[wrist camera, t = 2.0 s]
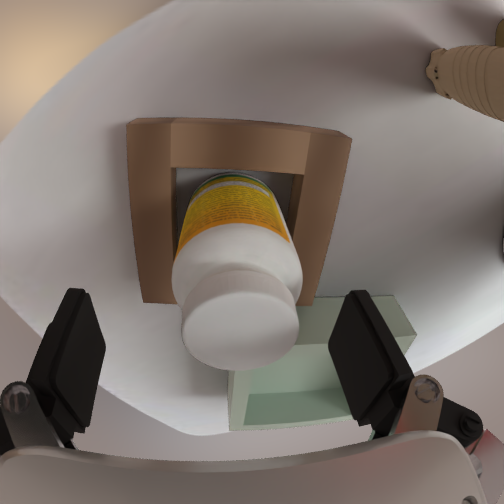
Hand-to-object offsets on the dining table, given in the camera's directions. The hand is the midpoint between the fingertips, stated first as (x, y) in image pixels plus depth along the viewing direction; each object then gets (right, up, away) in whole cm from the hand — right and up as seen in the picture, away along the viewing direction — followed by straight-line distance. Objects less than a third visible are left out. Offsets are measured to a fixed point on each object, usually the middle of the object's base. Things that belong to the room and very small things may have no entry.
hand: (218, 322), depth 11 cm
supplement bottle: (0, +5, +7) cm, 9 cm away
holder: (0, +5, +7) cm, 9 cm away
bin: (+6, -6, +15) cm, 17 cm away
